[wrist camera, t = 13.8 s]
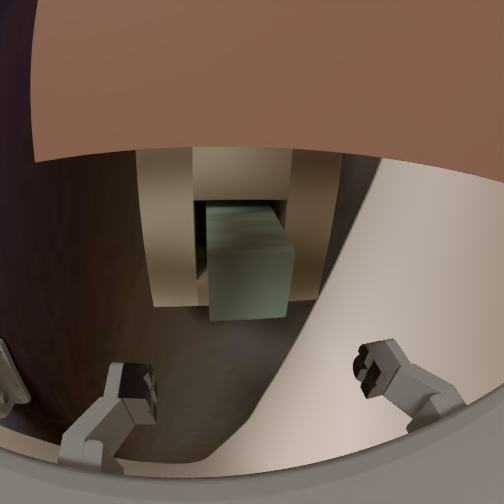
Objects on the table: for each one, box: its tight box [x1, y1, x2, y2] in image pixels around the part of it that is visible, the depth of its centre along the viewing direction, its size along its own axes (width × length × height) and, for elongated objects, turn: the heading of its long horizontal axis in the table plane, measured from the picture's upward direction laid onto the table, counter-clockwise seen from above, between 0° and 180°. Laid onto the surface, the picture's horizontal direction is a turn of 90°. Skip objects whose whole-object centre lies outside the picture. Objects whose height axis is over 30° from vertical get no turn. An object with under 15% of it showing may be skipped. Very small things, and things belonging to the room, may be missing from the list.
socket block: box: [136, 147, 343, 307], centre depth 19 cm, size 20×12×6 cm, turn 177°
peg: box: [206, 200, 295, 321], centre depth 19 cm, size 4×4×10 cm
